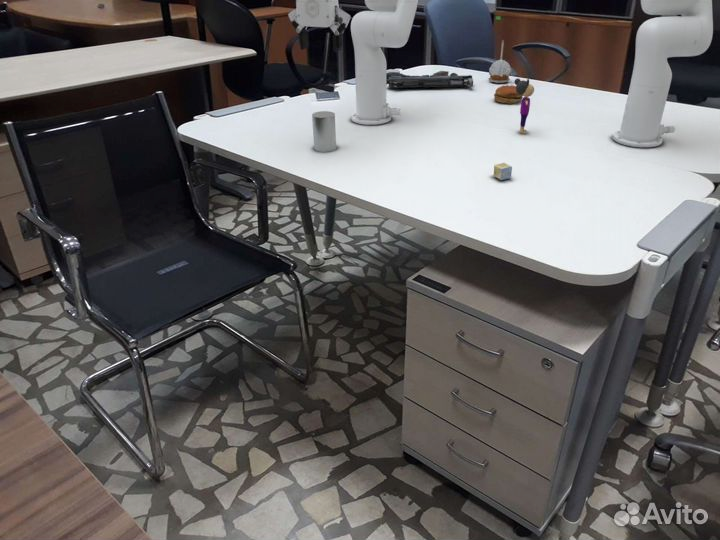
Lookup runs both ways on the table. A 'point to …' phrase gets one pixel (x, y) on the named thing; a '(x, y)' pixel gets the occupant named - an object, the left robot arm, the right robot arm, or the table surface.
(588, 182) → the table surface
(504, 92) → the burger
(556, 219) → the table surface
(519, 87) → the toy
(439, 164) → the table surface
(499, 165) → the alphabet block
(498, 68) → the candy apple
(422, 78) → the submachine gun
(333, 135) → the can
